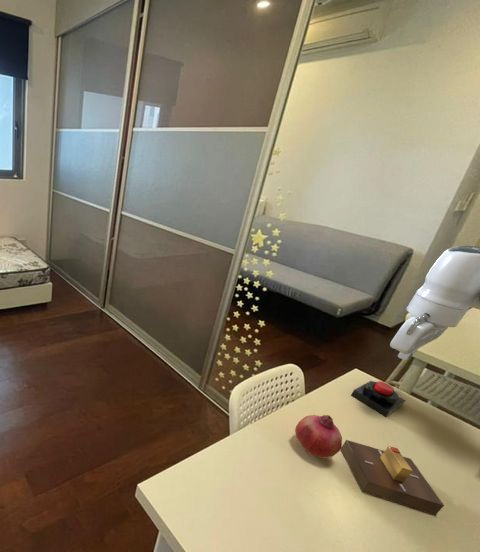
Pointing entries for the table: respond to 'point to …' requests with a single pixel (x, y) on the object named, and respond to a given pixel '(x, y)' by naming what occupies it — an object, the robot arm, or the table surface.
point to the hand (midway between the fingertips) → (403, 357)
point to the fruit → (319, 435)
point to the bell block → (377, 399)
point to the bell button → (384, 388)
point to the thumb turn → (396, 464)
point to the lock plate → (389, 479)
